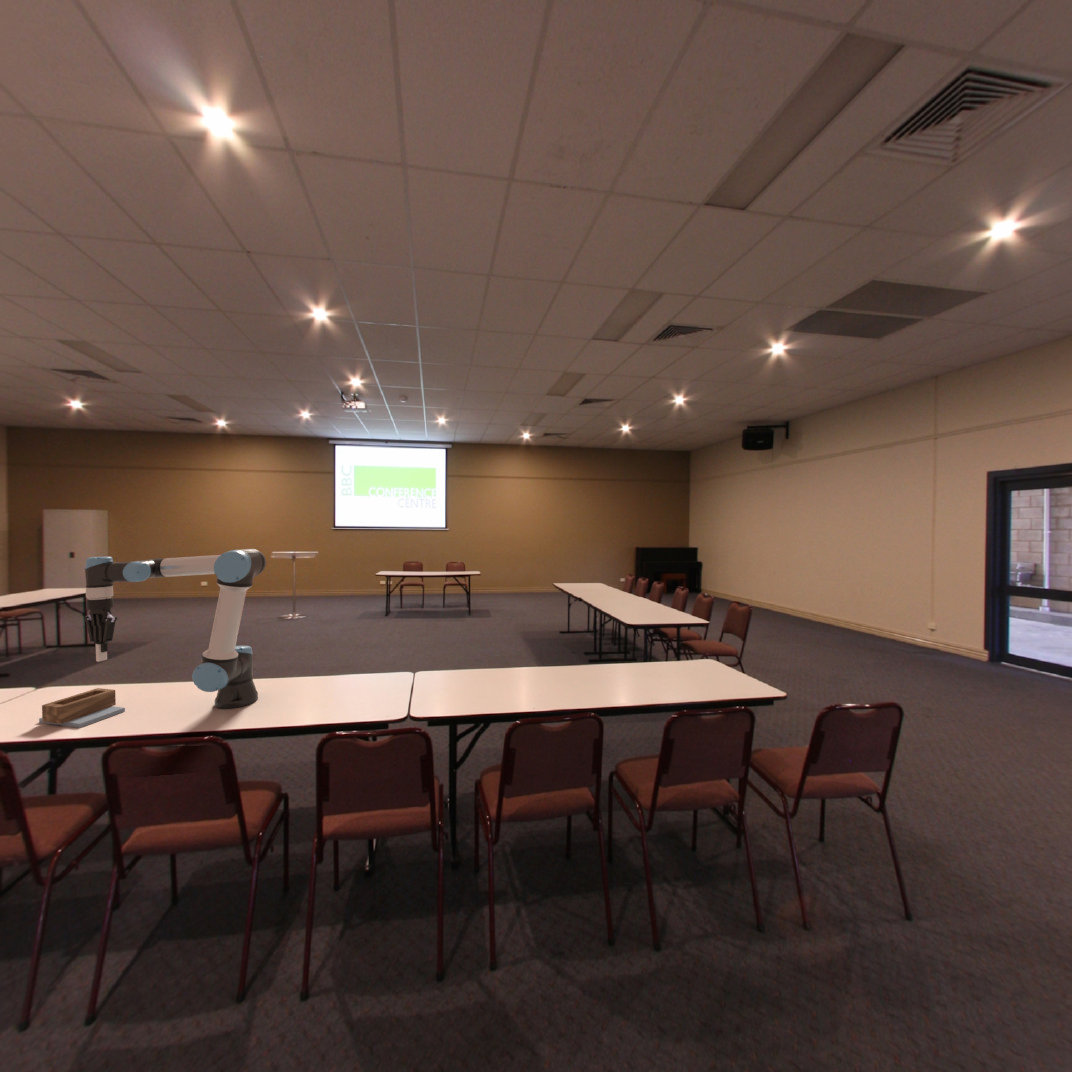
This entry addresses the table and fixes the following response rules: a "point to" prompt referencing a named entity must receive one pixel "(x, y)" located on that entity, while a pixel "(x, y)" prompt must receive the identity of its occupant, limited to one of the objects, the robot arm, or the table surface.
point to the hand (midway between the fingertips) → (101, 660)
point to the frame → (78, 705)
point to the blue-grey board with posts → (90, 717)
